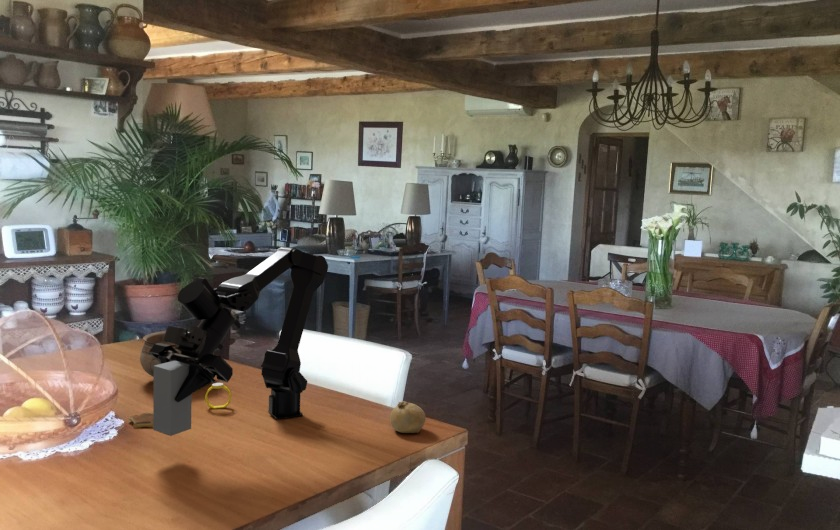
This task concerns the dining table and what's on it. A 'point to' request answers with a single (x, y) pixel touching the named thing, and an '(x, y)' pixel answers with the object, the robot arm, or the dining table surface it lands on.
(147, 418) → the shard
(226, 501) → the dining table surface
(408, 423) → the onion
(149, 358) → the cooking pot
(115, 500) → the dining table surface
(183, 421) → the slate block
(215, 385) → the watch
